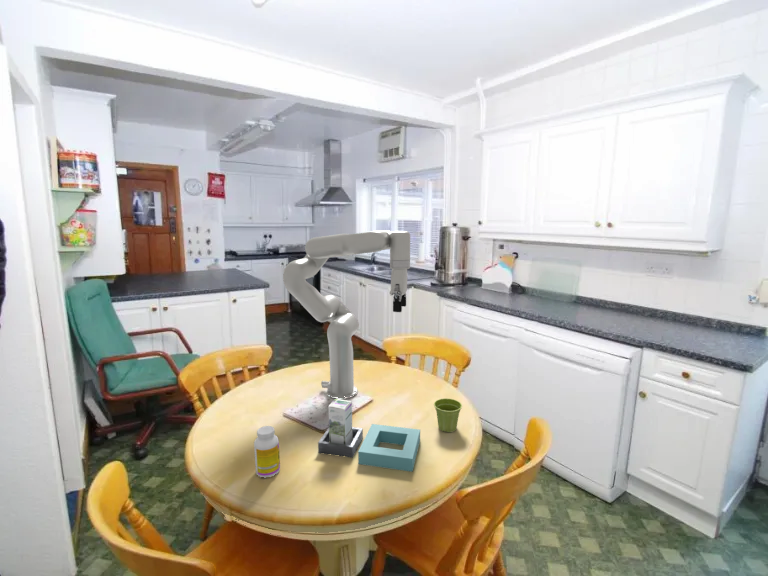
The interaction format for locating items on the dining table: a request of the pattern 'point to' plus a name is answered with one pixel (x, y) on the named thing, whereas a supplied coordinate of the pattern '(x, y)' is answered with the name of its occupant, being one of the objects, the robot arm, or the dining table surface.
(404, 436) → the socket block
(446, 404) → the plant pot
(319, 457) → the dining table surface
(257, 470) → the supplement bottle
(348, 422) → the syrup box
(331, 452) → the box stand
